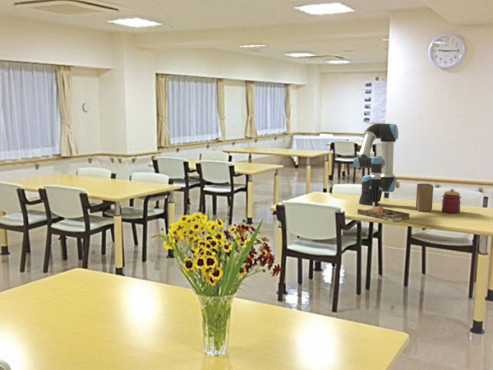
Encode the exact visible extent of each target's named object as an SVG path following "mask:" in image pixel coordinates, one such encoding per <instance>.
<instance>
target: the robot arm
mask: <svg viewBox="0 0 493 370" xmlns="http://www.w3.org/2000/svg"><path fill="white" fill-rule="evenodd" d="M376 139H378V140H379V139H380V142H381V145H382V147H381V149H382V150H381V156H377V155H376V156H372V157H370V154H371V151H372V147H373V143H374V141H375V140H376ZM398 139H399V128H398V125H397V124H395V123H377V122H376V123H373V124H371V125H370V126H368V128H366V129H365V131H364V133H363V140H362V144H361V146H360V149H359V153H358V155H357V157H354V158H353V167H354V168H359V169H370V174H368V175H363V176H362V179H361V195H360V197H359V200H358V204H360V205H363V206H364V205H365V206H372V208H371V209H372V211H373V207H377V206H378V204H379V202H381V199H382V194H383V192H384V193H393V192H395V190H396V186H397V177H396V175H395V174H394V146H395V145H394V144H395V143H396V141H397V140H398Z"/></svg>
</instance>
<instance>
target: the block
mask: <svg viewBox="0 0 493 370" xmlns="http://www.w3.org/2000/svg"><path fill="white" fill-rule="evenodd" d="M433 197H434V185H432V184H431V183H417V185H416V199H415V200H416V201H415V202H416V203H415V209H416V210H417V212H424V213H425V212H432V211H433Z"/></svg>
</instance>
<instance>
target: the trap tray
mask: <svg viewBox="0 0 493 370" xmlns="http://www.w3.org/2000/svg"><path fill="white" fill-rule="evenodd" d="M372 209H373V208H368V209H361V208H357V215H361V216H365V217H371V218H374V219H379V220H384V221H389V222H391V223H393V222H399V221H403V220H408V219H410V213H408V212H404V211H399V210H394V209H389V208H385V207H383V214H380V213H375V212H373V211H372Z"/></svg>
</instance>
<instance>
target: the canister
mask: <svg viewBox="0 0 493 370" xmlns="http://www.w3.org/2000/svg"><path fill="white" fill-rule="evenodd" d="M461 198H462V197H461V193H460V192H458V191H455V189H454V188H450V189H449V190H446V191H445V192H443V195H442V203H441V212H442V213H445V214H460V213H461V202H462V201H461Z"/></svg>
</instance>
